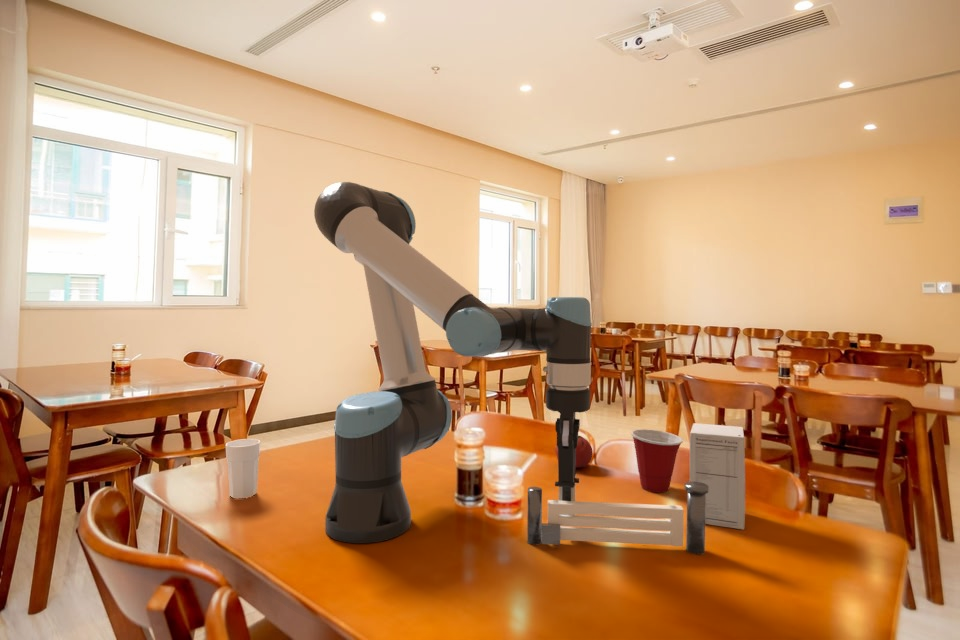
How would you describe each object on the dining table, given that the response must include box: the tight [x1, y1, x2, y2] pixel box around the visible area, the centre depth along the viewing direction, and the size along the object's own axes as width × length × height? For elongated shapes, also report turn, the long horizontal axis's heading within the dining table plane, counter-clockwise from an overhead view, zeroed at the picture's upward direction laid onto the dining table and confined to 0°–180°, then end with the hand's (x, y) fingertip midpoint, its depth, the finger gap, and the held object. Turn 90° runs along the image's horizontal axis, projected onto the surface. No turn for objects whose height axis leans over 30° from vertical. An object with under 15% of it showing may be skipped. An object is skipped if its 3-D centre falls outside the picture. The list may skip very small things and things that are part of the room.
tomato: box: [554, 435, 593, 469], centre depth 133 cm, size 9×9×8 cm
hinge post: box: [684, 481, 709, 556], centre depth 87 cm, size 4×4×11 cm
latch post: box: [526, 486, 561, 546], centre depth 89 cm, size 5×4×9 cm
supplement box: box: [689, 422, 746, 530], centre depth 101 cm, size 10×9×17 cm
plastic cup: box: [630, 428, 684, 494], centre depth 117 cm, size 11×11×12 cm
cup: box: [225, 438, 261, 499], centre depth 112 cm, size 7×7×11 cm
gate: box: [547, 499, 685, 547], centre depth 89 cm, size 22×2×6 cm, turn 84°
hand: (566, 521), depth 93 cm, fingers closed
